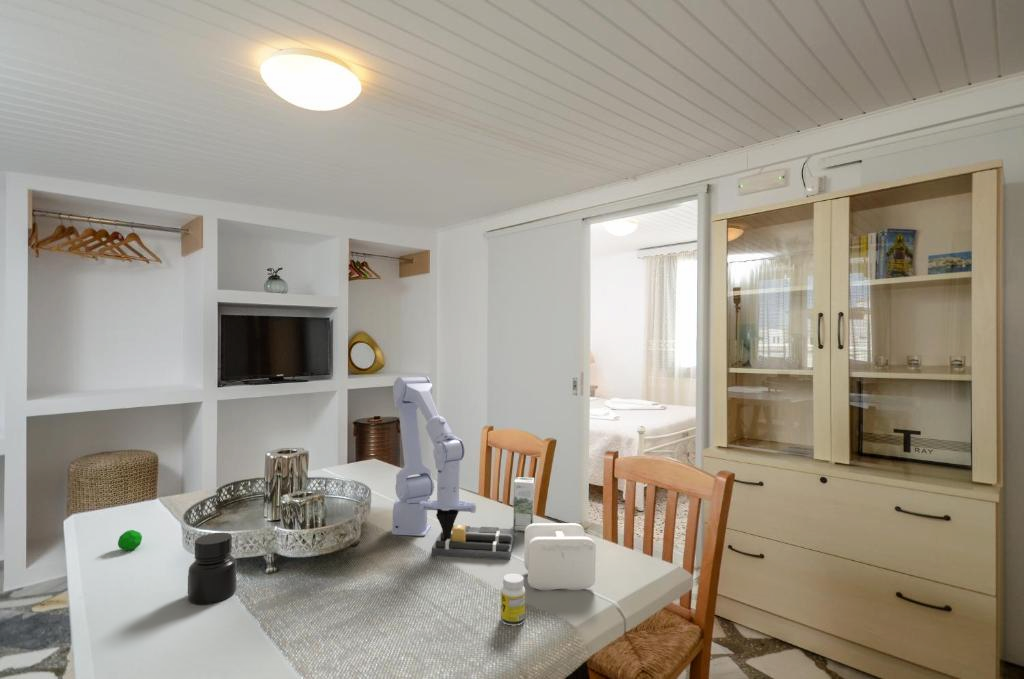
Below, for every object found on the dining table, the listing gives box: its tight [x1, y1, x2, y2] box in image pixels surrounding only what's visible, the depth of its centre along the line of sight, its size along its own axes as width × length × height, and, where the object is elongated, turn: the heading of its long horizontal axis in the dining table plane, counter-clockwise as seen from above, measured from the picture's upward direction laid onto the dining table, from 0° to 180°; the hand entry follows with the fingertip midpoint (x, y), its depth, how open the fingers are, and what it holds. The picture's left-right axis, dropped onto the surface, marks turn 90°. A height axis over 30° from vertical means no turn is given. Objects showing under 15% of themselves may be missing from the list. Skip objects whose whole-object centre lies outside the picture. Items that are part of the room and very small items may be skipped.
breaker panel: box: [431, 524, 516, 561], centre depth 140 cm, size 20×16×3 cm
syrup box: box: [512, 476, 535, 533], centre depth 153 cm, size 6×6×14 cm
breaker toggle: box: [452, 524, 467, 542], centre depth 136 cm, size 3×3×4 cm
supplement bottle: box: [500, 573, 526, 625], centre depth 102 cm, size 5×5×8 cm
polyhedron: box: [117, 529, 143, 552], centre depth 134 cm, size 5×5×5 cm
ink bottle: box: [187, 532, 238, 605], centre depth 111 cm, size 10×9×12 cm
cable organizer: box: [523, 522, 597, 591], centre depth 120 cm, size 15×11×12 cm
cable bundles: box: [435, 530, 512, 552], centre depth 136 cm, size 19×10×2 cm, turn 85°
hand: (447, 538), depth 136 cm, fingers closed
